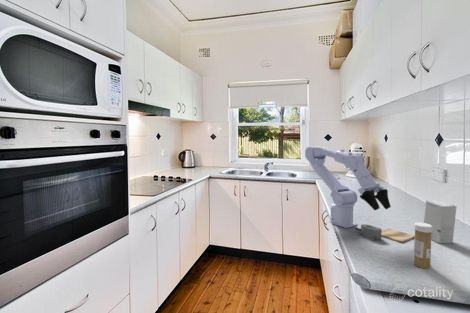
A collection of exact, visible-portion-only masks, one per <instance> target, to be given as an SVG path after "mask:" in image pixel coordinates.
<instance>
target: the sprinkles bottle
mask: <svg viewBox="0 0 470 313" xmlns="http://www.w3.org/2000/svg"><path fill="white" fill-rule="evenodd" d="M431 233H432V225H430V224H427V223H424V222H420V221H419V222H415V223H414V236H415V237H414V238H413V240H414V242H413V243H414V245H413V265H415V266H416V267H417V268H420V269H425V270H426V269H430V268H431V266H432V265H431V257H432V240H431Z"/></svg>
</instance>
